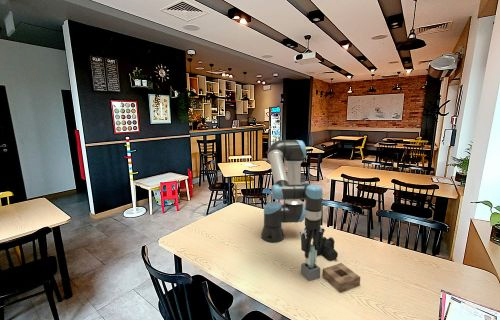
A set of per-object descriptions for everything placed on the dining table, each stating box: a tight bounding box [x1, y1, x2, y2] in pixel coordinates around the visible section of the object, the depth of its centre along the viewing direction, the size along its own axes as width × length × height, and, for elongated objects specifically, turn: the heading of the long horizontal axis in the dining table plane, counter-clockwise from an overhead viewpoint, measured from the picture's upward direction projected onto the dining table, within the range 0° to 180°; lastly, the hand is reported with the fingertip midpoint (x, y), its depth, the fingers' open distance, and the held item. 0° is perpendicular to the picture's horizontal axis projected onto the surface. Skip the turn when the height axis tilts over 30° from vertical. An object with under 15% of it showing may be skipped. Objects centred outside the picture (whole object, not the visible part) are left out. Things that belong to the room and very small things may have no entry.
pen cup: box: [300, 262, 321, 282], centre depth 117 cm, size 7×7×6 cm
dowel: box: [308, 243, 315, 270], centre depth 116 cm, size 3×3×16 cm
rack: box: [321, 262, 361, 294], centre depth 113 cm, size 12×12×5 cm
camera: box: [317, 236, 339, 262], centre depth 133 cm, size 14×11×10 cm
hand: (310, 262), depth 116 cm, fingers closed on dowel, 3 cm apart
